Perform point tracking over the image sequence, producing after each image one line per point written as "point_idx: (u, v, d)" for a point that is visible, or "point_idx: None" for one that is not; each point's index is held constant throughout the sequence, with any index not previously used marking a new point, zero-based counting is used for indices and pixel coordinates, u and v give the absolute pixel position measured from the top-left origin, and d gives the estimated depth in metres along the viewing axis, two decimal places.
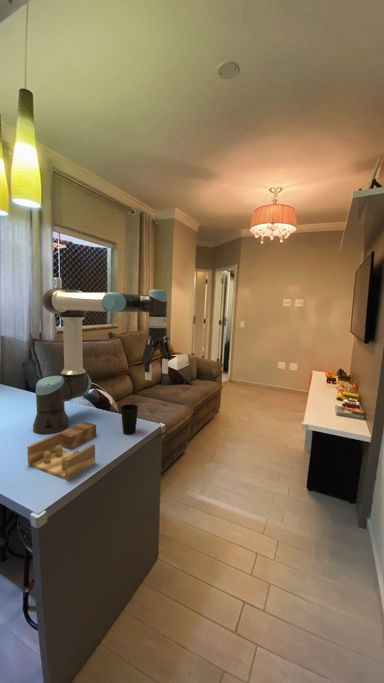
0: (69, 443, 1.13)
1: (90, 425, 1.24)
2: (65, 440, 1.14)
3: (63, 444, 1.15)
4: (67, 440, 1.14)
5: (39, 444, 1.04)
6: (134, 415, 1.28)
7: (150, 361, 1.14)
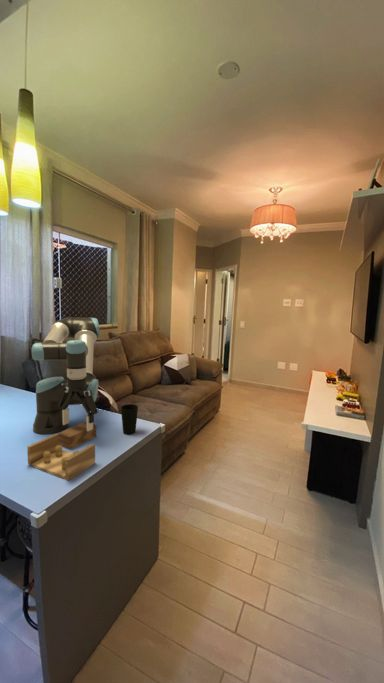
0: (68, 443, 1.13)
1: None
2: (64, 440, 1.14)
3: (63, 444, 1.15)
4: (66, 440, 1.14)
5: (39, 444, 1.04)
6: (134, 415, 1.28)
7: (62, 407, 1.21)
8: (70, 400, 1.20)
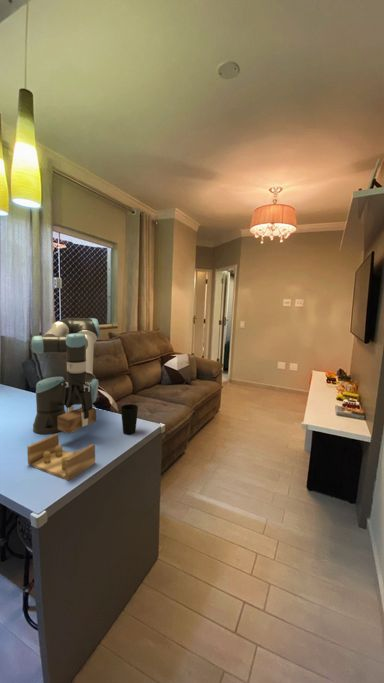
0: (68, 426, 1.13)
1: (89, 410, 1.23)
2: (64, 423, 1.14)
3: (62, 427, 1.15)
4: (66, 423, 1.13)
5: (39, 444, 1.04)
6: (134, 415, 1.28)
7: (67, 404, 1.20)
8: (73, 395, 1.20)
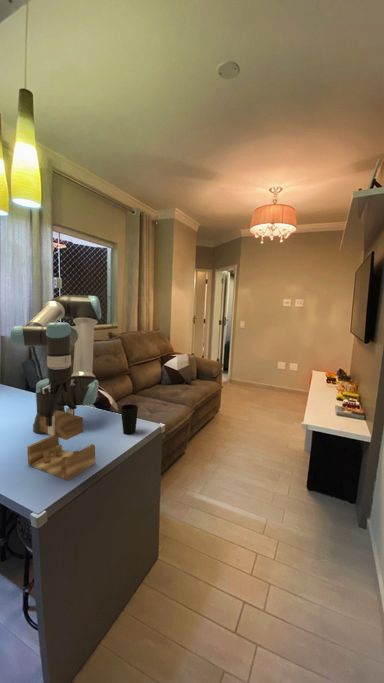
0: (81, 425, 1.00)
1: (57, 412, 1.05)
2: (76, 425, 0.98)
3: (73, 432, 0.98)
4: (78, 424, 0.99)
5: (39, 444, 1.04)
6: (134, 415, 1.28)
7: (52, 413, 0.96)
8: None
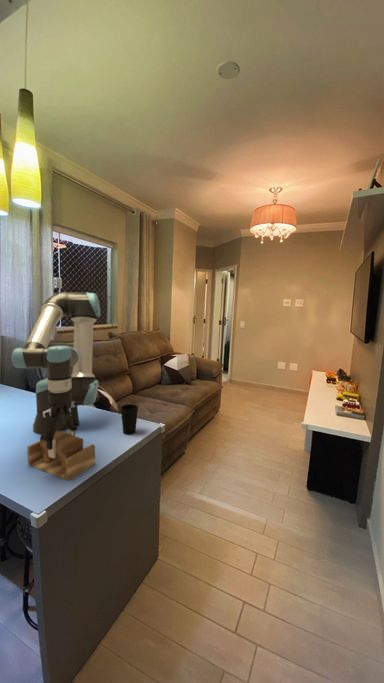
0: (81, 447, 1.01)
1: (57, 432, 1.06)
2: (76, 447, 0.99)
3: (73, 454, 0.98)
4: (79, 445, 1.00)
5: (39, 444, 1.04)
6: (134, 415, 1.28)
7: (52, 436, 0.97)
8: None
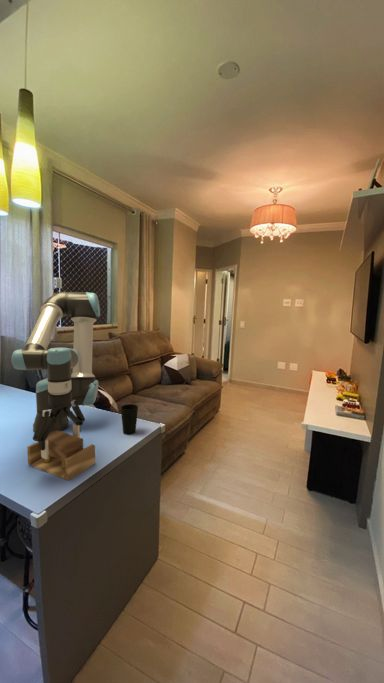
0: (81, 447, 1.01)
1: (57, 432, 1.06)
2: (76, 447, 0.99)
3: (73, 454, 0.98)
4: (79, 445, 1.00)
5: None
6: (134, 415, 1.28)
7: (45, 437, 0.94)
8: None
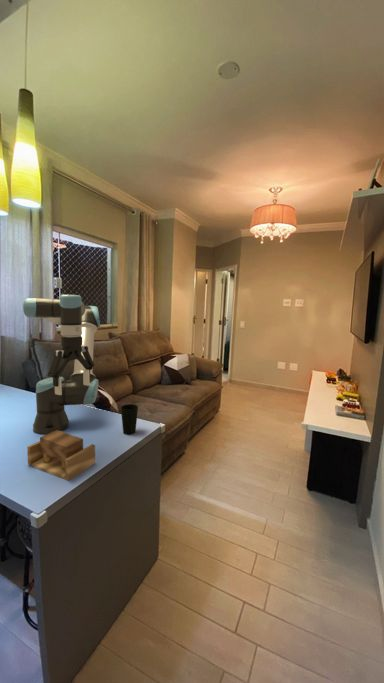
0: (81, 447, 1.01)
1: (57, 432, 1.06)
2: (76, 447, 0.99)
3: (73, 454, 0.98)
4: (79, 445, 1.00)
5: (39, 444, 1.04)
6: (134, 415, 1.28)
7: (59, 374, 1.03)
8: None
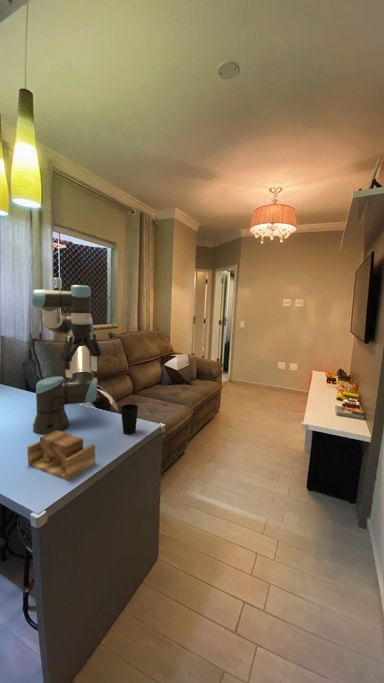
0: (81, 447, 1.01)
1: (57, 432, 1.06)
2: (76, 447, 0.99)
3: (73, 454, 0.98)
4: (79, 445, 1.00)
5: (39, 444, 1.04)
6: (134, 415, 1.28)
7: (70, 358, 1.11)
8: None
